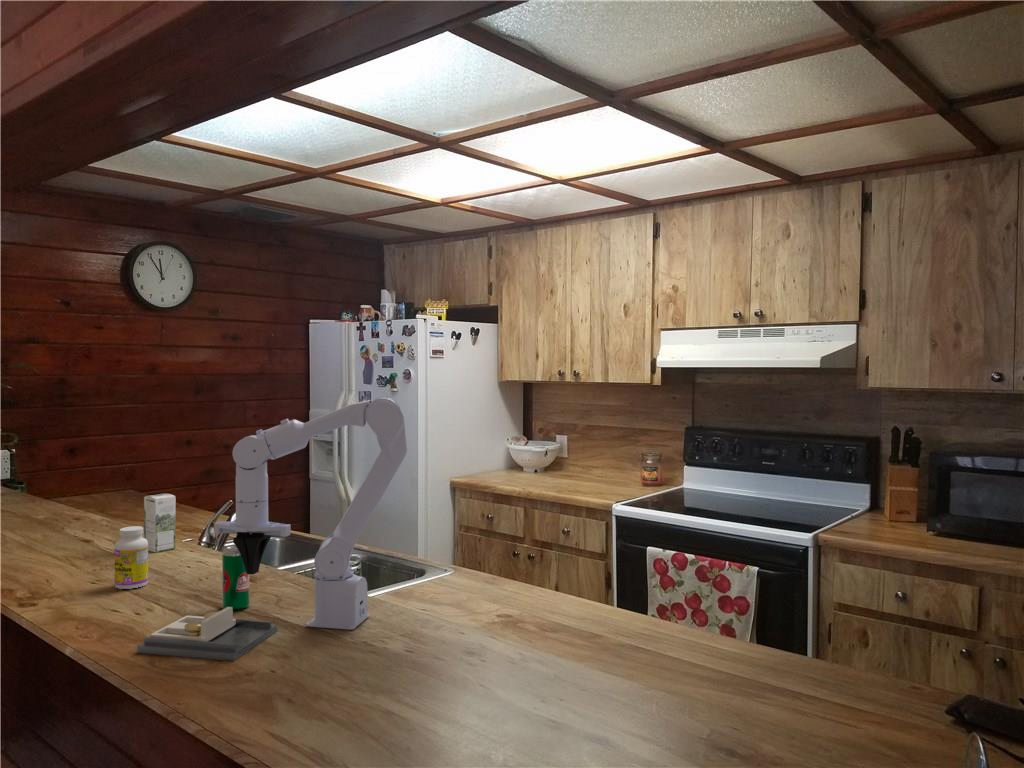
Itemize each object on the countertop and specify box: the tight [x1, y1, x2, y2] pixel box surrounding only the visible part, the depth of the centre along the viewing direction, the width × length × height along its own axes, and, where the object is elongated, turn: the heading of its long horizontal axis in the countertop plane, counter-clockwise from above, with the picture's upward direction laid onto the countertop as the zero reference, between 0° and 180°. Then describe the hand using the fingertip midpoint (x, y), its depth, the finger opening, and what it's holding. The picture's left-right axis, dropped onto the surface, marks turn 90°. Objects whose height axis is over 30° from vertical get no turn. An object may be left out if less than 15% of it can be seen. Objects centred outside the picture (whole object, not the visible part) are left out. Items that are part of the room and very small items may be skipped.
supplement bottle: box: [114, 525, 149, 590], centre depth 164 cm, size 7×7×13 cm
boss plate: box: [136, 610, 278, 662], centre depth 130 cm, size 18×14×4 cm
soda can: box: [221, 545, 250, 611], centre depth 149 cm, size 5×5×12 cm
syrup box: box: [143, 493, 177, 553], centre depth 197 cm, size 6×6×14 cm
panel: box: [149, 607, 237, 641], centre depth 131 cm, size 10×10×4 cm
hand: (252, 572), depth 138 cm, fingers closed
